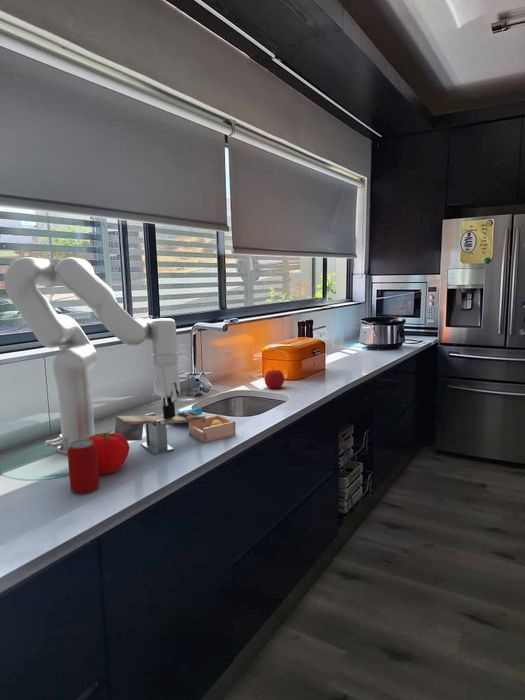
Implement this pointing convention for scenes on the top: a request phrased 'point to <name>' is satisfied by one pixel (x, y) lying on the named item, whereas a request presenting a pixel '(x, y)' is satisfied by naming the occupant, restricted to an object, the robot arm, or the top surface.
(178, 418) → the lever
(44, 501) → the top surface
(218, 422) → the ball
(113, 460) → the tomato
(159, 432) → the fulcrum
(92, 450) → the beverage can
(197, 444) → the top surface
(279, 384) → the apple
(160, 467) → the top surface
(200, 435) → the dish
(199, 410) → the blue wedge block
